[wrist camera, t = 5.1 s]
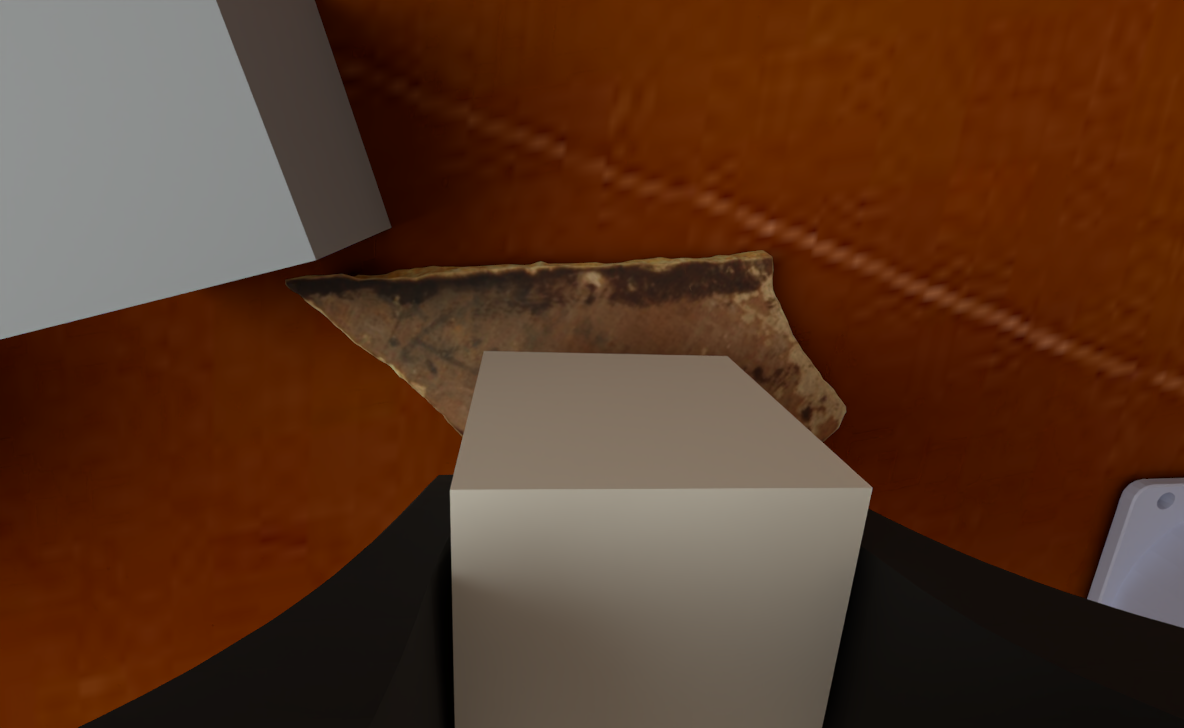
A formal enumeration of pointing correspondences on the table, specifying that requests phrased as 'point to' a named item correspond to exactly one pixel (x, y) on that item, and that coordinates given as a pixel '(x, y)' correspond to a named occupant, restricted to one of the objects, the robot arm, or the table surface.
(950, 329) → the table surface
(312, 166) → the slate block
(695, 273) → the shard
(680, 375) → the cream block
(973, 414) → the table surface
